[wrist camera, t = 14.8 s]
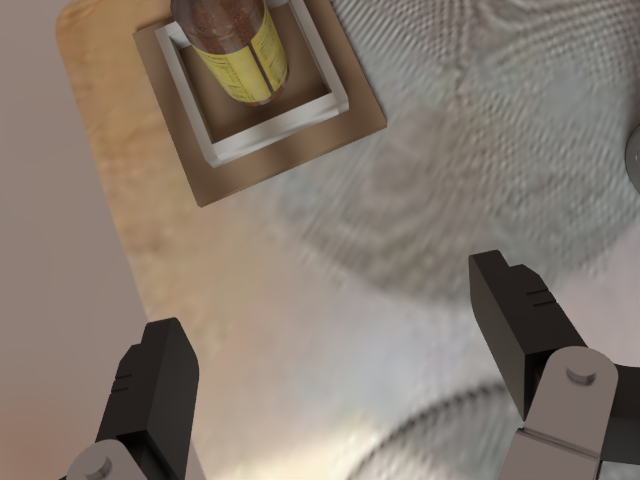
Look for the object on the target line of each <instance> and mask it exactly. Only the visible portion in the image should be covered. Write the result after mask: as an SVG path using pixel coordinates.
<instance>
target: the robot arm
mask: <svg viewBox="0 0 640 480" xmlns="http://www.w3.org/2000/svg"><path fill="white" fill-rule="evenodd" d="M626 166H627V172H628V174H629V177H630V179H631V181H632V183H633V185H634V186H635V188H636V189H637V191H638V192H639V193H640V125H639V126H638V127H637V128H636V129H635V130H634V132H633V134H632V135H631V137H630V139H629V141H628V145H627V148H626ZM468 261H469V279H470V296H471V304H472V308H473V312H474V315H475V318H476V321H477V323H478V325H479V327H480V330H481V332H482V334H483V336H484V338H485V340H486V342H487V345H488V347H489V349H490V351H491V353H492V355H493V357H494V360H495V362H496V364H497V366H498V368H499V370H500V373H501V375H502V377H503V379H504V381H505V383H506V385H507V388H508V390H509V392H510V394H511V396H512V398H513V400H514V403H515V405H516V407H517V409H518V411H519V413H520V416H521V418H522V420H523V422H524V421H525V424H524V426H523V428H522V429H521V428H518V429H517V431H516V433H515V435H514V437H513V440H512V442H511V445H510V448H509V450H508V453H507V456H506V458H505V461H504V464H503V466H502V469H501V472H500V474H499V477H498V480H599V478H600V474H601V470H602V465H603V461H610V462H618V463H627V464H635V465H640V367H628V366H622V365H618V364H614V363H613V362H612V361H611V360H610V359H609V358H608V357H606V356H605V355H604V354H602V353H600V352H598V351H596V350H594V349H590V348H588V346H587V345H586V344H585V342H584V341H583V339H582V338H581V336H580V335H579V333H578V332H577V330H576V329H575V327H574V326H573V325H572V323H571V322H570V320H569V319H568V317H567V316H566V314H565V313H564V311H563V310H562V308H561V307H560V305H559V304H558V303H557V302H556V299H555V298H554V296H553V295H552V293H551V292H549V290H548V288H547V286H546V285H545V283H544V282H543V280H542V279H541V277H540V276H539V275H538V274H537V273H535V272H534V271H532V270H531V269H529V268H528V267H526V266H525V265H523V264H521V265H516V266H511V267H509V266H508V264H507V262H506V261H505V259H504V257H503V256H502V254H501V253H500V251H499V250H492V251H488V252H483V253H478V254H474V255H470V256H469V260H468ZM115 379H116V380H115V381H114V383H113V386H112V389H111V394H110V396H109V399H108V402H107V405H106V409H105V412H104V415H103V418H102V421H101V425H100V428H99V432H98V434H97V438H96V441H95V444H93V445H91V446H89V447H88V448H86V449H85V450H84V451H83V452H81V453H80V454H79V455H78V456H77V458H76V459H75V460H74V461H73V463H72V464H71V466H70V468H69V470H68V473H67V475H66V476H65V477H63V478H61V479H59V480H185V473H186V466H187V459H188V452H189V445H190V438H191V431H192V424H193V417H194V410H195V403H196V396H197V389H198V381H199V365H198V360H197V357H196V354H195V352H194V350H193V348H192V346H191V344H190V342H189V340H188V338H187V336H186V334H185V332H184V330H183V328H182V326H181V324H180V322H179V320H178V319H177V318H175V317H173V318H168V319H164V320H159V321H154V322H149V323H147V325H146V327H145V330H144V333H143V337H142V341H141V344H136V345H132V346H131V347H130V349H129V350H128V351H127V353H126V354H125V355H124V357H123V358H122V359H121V361H120V363H119V367H118V370H117V373H116V376H115Z"/></svg>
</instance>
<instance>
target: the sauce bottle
mask: <svg viewBox="0 0 640 480" xmlns="http://www.w3.org/2000/svg"><path fill="white" fill-rule="evenodd" d="M171 13H172V16H173V18H174V20H175V21H176V22H177V23H178V25H179V26H180V27H181V29H182V30H183V32H184V34H185V36H186V37H187V39H188V41H189V42H190V43H191V45H192V46H193V48H194V49H195V50H196V52H197V53H198V55H199V56H200V57H201V59H202V60H203V61H204V63H205V64H206V65H207V67H208V68H209V70H210V71H211V72H212V73H213V75H214V76H215V78H216V79H217V80H218V82H219V83H220V85H221V86H222V87H223V89H224V90H225V91H226V92H227V93H228V94H229V95H230V96H231V97H233V98H234V99H235V100H238V101H239V102H241V103H243V104H246V105H248V106H259V105H263V104H266V103H269V102H271V101H272V100H275V99H276V98H278V97H279V95H280V94H281V93H282V92H283V90H284V88H285V87H286V83H287V80H288V76H289V68H288V65H287V58H286V54H285V51H284V49H283V46H282V44H281V41H280V39H279V36H278V34H277V31H276V29H275V26H274V24H273V21H272V19H271V16H270V14H269V11H268V9H267V6H266V4H265V1H264V0H171Z"/></svg>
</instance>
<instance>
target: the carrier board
mask: <svg viewBox="0 0 640 480" xmlns="http://www.w3.org/2000/svg"><path fill="white" fill-rule="evenodd" d="M264 1H265V4H266V6H267V9H268V11H269V14H270V16H271V19H272V21H273V24H274V26H275V29H276V31H277V34H278V36H279V39H280V41H281V44H282V46H283V49H284V51H285V54H286V58H287V65H288V68H289V76H288V80H287V83H286V87H285V88H284V90H283V92H282V93H281V94H280V95H279V97H278V98H276V99H275V100H272V101H271V102H269V103H266V104H263V105H259V106H248V105H246V104H243V103H241V102H239V101H238V100H235V99H234V98H233V97H231V96H230V95H229V94H228V93H227V92H226V91H225V90H224V89H223V87H222V86H221V85H220V83H219V82H218V80H217V79H216V78H215V76H214V75H213V73H212V72H211V71H210V70H209V68H208V67H207V65H206V64H205V63H204V61H203V60H202V59H201V57H200V56H199V55H198V53H197V52H196V50H195V49H194V48H193V46H192V45H191V43H190V42H189V41H188V39H187V37H186V36H185V34H184V32H183V30H182V29H181V27H180V26H179V25H178V23H177V22H176V21H175V20H174V18H173V16H172V17H169V18H167V19H165V20H162V21H160V22H158V23H156V24H153V25H151V26H149V27H147V28H144V29H142V30H140V31H138V32H135V33H133V34H132V35H133V38H134V40H135V43H136V46H137V48H138V51H139V54H140V56H141V59H142V61H143V64H144V67H145V69H146V72H147V74H148V77H149V80H150V82H151V85H152V88H153V90H154V93H155V95H156V98H157V101H158V103H159V106H160V108H161V111H162V114H163V116H164V119H165V121H166V124H167V127H168V129H169V132H170V135H171V137H172V140H173V142H174V145H175V148H176V150H177V153H178V155H179V158H180V161H181V163H182V166H183V168H184V171H185V174H186V176H187V179H188V182H189V184H190V187H191V189H192V192H193V195H194V197H195V200H196V202H197V205H198V206H199V207H204V206H206V205H208V204H211V203H213V202H215V201H218V200H220V199H222V198H225V197H227V196H229V195H231V194H234V193H236V192H238V191H241V190H243V189H245V188H248V187H250V186H252V185H255V184H257V183H259V182H261V181H264V180H266V179H268V178H271V177H273V176H275V175H278V174H280V173H282V172H285V171H287V170H289V169H291V168H294V167H296V166H298V165H301V164H303V163H305V162H308V161H310V160H312V159H315V158H317V157H319V156H322V155H324V154H326V153H328V152H331V151H333V150H335V149H338V148H340V147H342V146H345V145H347V144H349V143H352V142H354V141H356V140H358V139H361V138H363V137H365V136H368V135H370V134H372V133H375V132H377V131H379V130H382V129H384V128H386V127H387V122H386V120H385V118H384V116H383V114H382V111H381V109H380V107H379V105H378V103H377V101H376V99H375V97H374V94H373V92H372V90H371V88H370V86H369V84H368V82H367V80H366V78H365V75H364V73H363V71H362V69H361V67H360V65H359V63H358V61H357V58H356V56H355V54H354V52H353V50H352V48H351V46H350V44H349V42H348V39H347V37H346V35H345V33H344V31H343V29H342V27H341V25H340V23H339V20H338V18H337V16H336V14H335V12H334V10H333V8H332V6H331V3H330V1H329V0H264Z"/></svg>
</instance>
